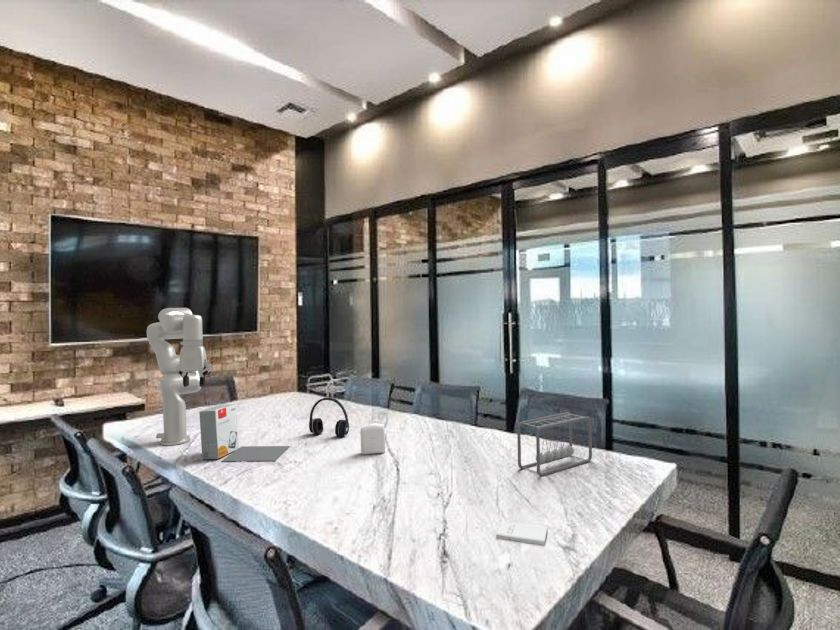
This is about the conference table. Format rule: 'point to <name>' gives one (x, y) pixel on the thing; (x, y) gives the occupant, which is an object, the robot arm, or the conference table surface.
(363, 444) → the photo printer
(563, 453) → the newton's cradle
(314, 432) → the headphones
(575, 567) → the conference table surface
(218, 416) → the hard drive box
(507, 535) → the external hard drive
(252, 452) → the rubber mat
